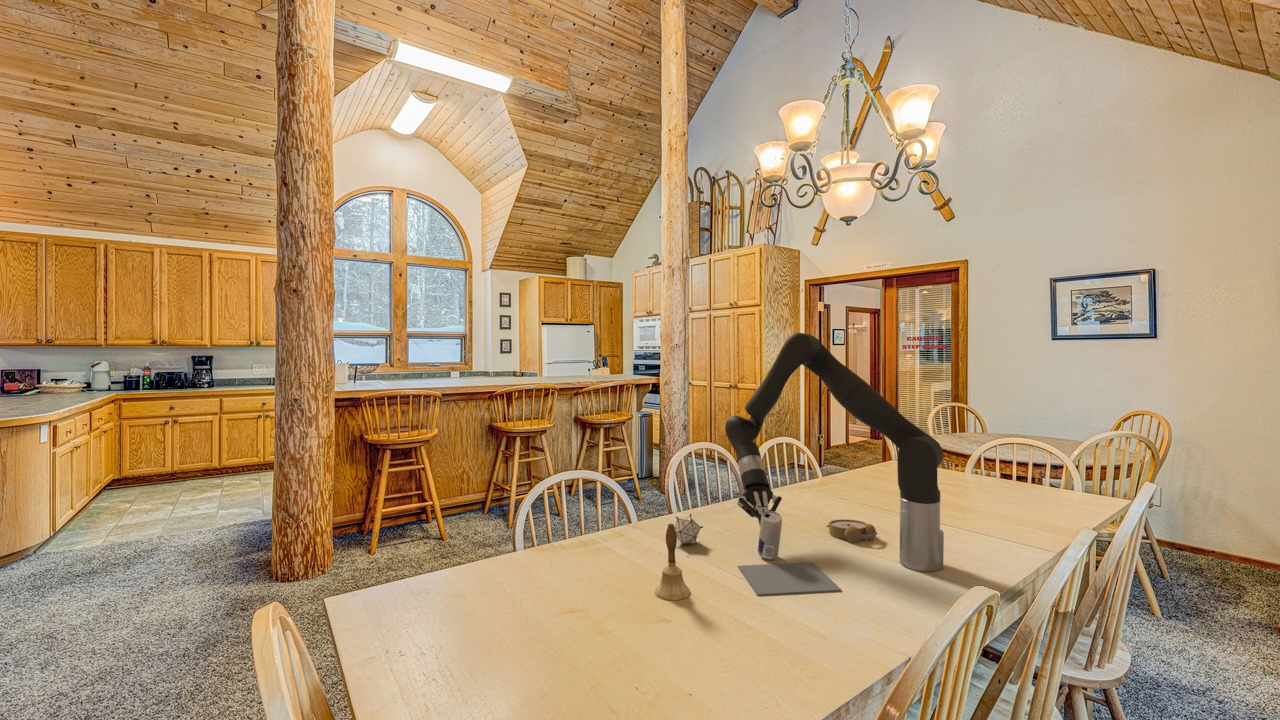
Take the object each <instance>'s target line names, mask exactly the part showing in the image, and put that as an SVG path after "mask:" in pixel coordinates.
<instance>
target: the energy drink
mask: <svg viewBox="0 0 1280 720" xmlns="http://www.w3.org/2000/svg"><path fill="white" fill-rule="evenodd" d="M782 525H783V520H782V515H781V514H780V513H778V512H777V511H775V512H774V511H766V512H764V513H763V514H762V517H761V525H759V535H758V546H757V547H758V548H757V553H758V555H759V556H760V558H762V559H764V560H769V561H770V560H775V559H776V558H778V556H779V550H780V542H781V534H782Z"/></svg>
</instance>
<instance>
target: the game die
mask: <svg viewBox="0 0 1280 720" xmlns="http://www.w3.org/2000/svg"><path fill="white" fill-rule="evenodd" d="M675 519H676V522H675V525H674V528H675V531H676V534H677V541H679V542H680V543H681V547H684V544H685V545H686V544H689V543H695V544H696V543H697V544H698V542H697V538H698V536H699V533H700V530H701V529H703V528H704V526H703V525H701V526H700V525H699V524H698V523H697V522H696V521H695V519H694V518H693V517H692V513H689V516H685V517H678V516H675Z"/></svg>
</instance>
